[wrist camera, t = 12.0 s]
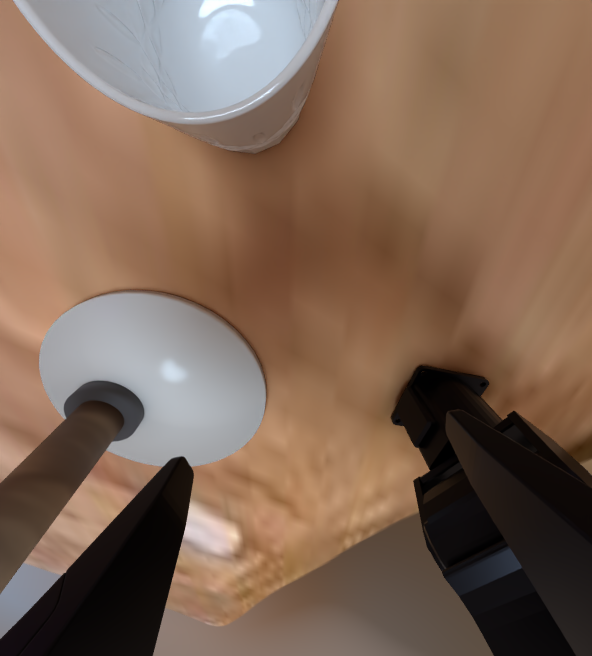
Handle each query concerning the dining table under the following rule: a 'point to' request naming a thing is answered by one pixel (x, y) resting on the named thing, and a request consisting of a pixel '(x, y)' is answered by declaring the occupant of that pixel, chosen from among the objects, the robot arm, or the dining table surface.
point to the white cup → (195, 60)
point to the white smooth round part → (160, 373)
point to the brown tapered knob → (61, 467)
